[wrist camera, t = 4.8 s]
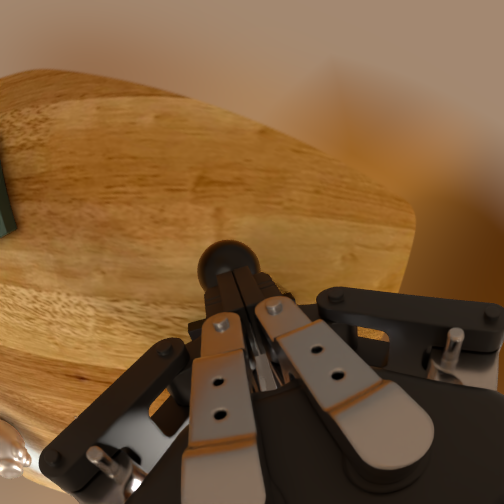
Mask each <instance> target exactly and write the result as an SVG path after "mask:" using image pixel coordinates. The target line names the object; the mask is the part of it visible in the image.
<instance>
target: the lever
mask: <svg viewBox="0 0 504 504" xmlns="http://www.w3.org/2000/svg"><path fill="white" fill-rule="evenodd" d="M244 266H248V267H249V269H250V271H251V273H252V275H253V274H257V273H260V264H259V261H258V258H257V256H256V255H255V253H254V252H253V251H252V250H251V248H249V247H248V246H247V245H245V244H244V243H241V242H239V241H235V240H222V241H219V242H216V243H214V244H212V245H211V246H209V247H208V248H207V249H206V250H205V251H204V253H203V254H202V256H201V258H200V260H199V263H198V269H197V273H198V279H199V282H200V285H201V287H202V288H203V290H204V291H205V292H206V291H207V289H208V288H211V287H214V286H217V285H218V282H217V277H216V275H218V274H221V273H225V272H228V271H231V272H232V274H233V270H234V269H238V268H241V267H244ZM233 277H234V274H233ZM234 280H235V277H234ZM235 283H236V281H235ZM236 286H237V284H236ZM250 328H251V327H250ZM251 331H252V330H251ZM252 334H253V332H252ZM253 337H254V335H253ZM254 340H255V338H254ZM255 344H256V347H257V350H258V353H259V356H256V357H255V360H256V368H257V371H258V375H259V380H260V384H261V389H262V391H270V390H275V389H277V386H276V383H275V380H274V377H273V374H272V371H271V368H270V365H269V361H268V358H267V355H266V353H265V354H262V355H261V354H260V351H259V349H258V346H257V343H256V341H255Z"/></svg>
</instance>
